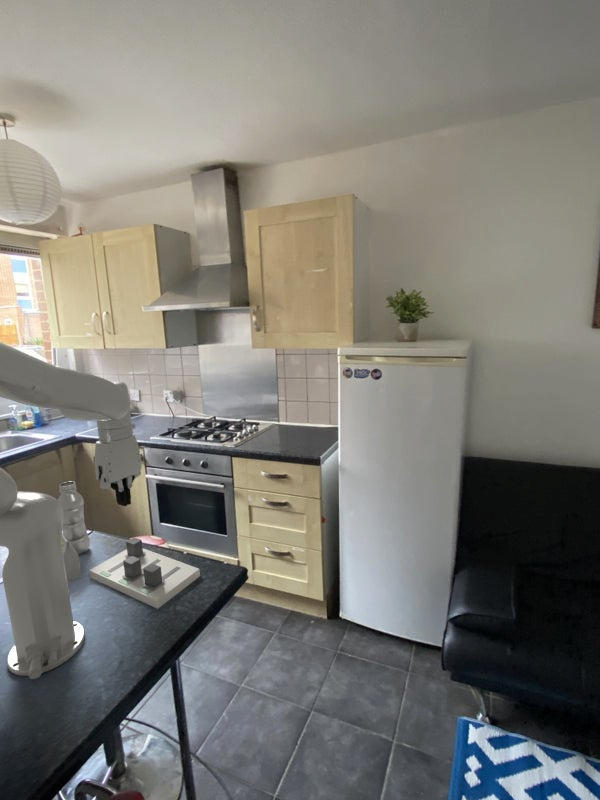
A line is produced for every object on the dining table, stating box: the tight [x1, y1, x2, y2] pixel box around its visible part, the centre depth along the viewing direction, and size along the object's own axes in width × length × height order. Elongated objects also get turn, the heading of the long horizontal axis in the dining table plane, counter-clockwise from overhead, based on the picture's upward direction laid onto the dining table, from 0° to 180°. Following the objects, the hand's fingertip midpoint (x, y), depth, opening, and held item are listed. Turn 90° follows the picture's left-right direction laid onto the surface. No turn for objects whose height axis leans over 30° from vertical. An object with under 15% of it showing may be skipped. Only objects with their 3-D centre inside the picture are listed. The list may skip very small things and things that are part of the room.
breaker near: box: [142, 564, 165, 590], centre depth 93 cm, size 4×4×4 cm
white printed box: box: [62, 533, 82, 583], centre depth 101 cm, size 4×7×10 cm, turn 42°
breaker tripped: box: [125, 536, 146, 558], centre depth 105 cm, size 4×4×4 cm
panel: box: [89, 547, 201, 610], centre depth 100 cm, size 24×13×2 cm, turn 60°
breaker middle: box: [122, 556, 144, 581], centre depth 96 cm, size 4×4×4 cm
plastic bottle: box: [56, 480, 91, 556], centre depth 110 cm, size 6×7×20 cm
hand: (124, 504), depth 101 cm, fingers closed
